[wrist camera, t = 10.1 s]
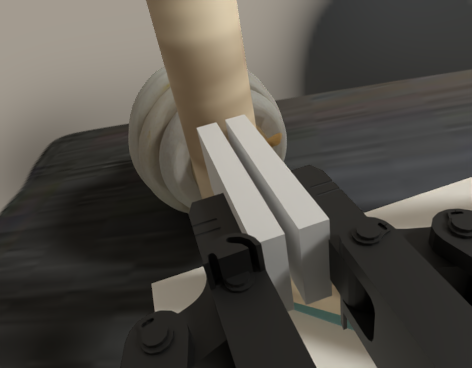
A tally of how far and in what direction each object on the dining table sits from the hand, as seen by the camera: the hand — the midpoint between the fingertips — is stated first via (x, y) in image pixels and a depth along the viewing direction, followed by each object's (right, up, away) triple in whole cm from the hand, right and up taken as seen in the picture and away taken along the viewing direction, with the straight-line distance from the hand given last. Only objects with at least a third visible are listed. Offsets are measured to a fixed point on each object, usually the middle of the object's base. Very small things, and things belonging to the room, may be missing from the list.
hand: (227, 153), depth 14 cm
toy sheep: (-1, -3, +15) cm, 16 cm away
